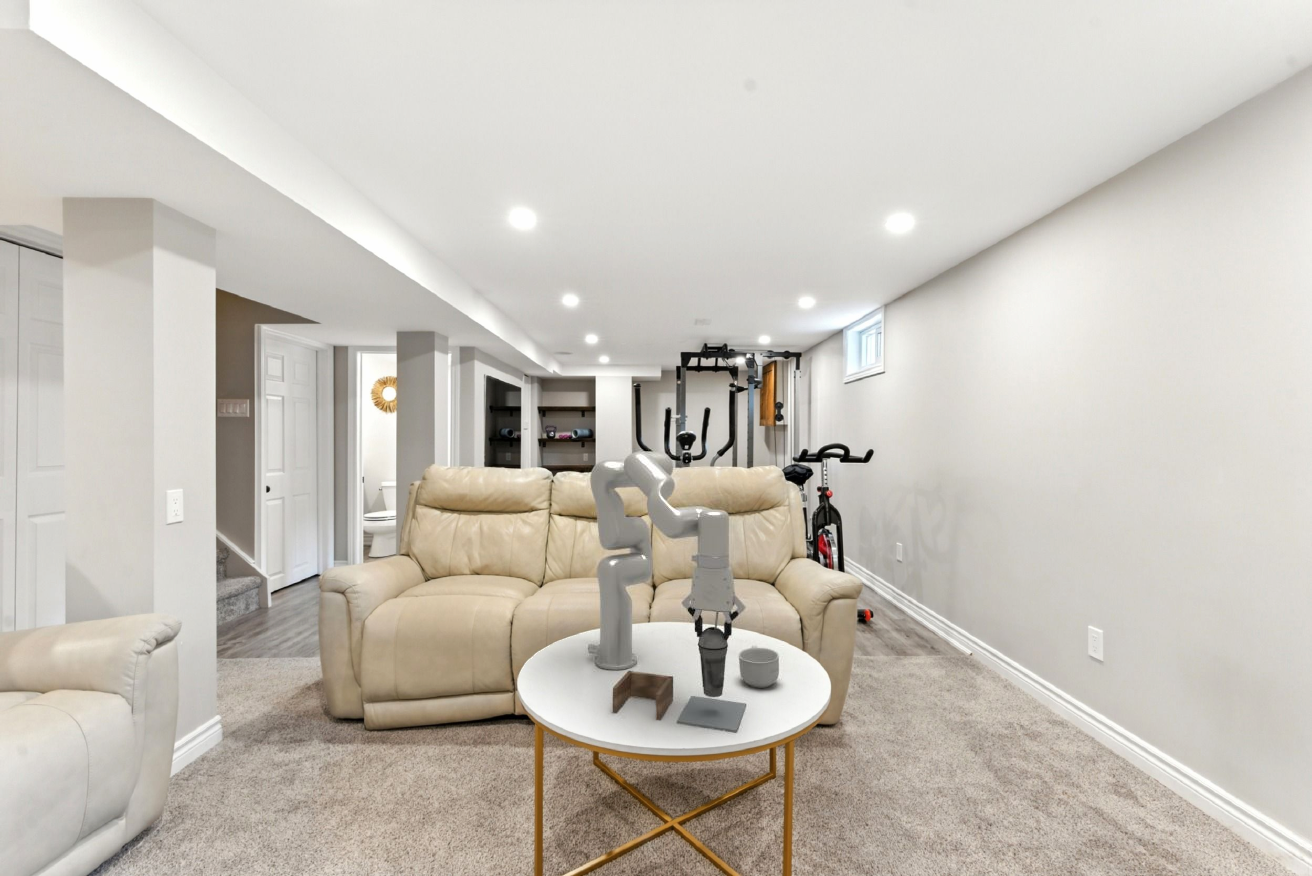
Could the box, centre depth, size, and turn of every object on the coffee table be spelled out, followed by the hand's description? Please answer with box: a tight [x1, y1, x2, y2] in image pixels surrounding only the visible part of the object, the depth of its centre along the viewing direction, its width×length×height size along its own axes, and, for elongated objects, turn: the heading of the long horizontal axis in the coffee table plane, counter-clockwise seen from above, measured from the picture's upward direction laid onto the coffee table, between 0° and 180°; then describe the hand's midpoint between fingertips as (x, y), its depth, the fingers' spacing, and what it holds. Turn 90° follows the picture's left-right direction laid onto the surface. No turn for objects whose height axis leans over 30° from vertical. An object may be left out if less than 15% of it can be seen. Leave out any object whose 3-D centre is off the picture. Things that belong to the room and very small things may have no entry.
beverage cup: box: [697, 612, 729, 698], centre depth 136 cm, size 7×7×20 cm
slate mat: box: [676, 695, 747, 733], centre depth 136 cm, size 14×14×1 cm
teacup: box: [738, 645, 780, 689], centre depth 156 cm, size 14×11×8 cm
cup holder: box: [612, 670, 674, 721], centre depth 140 cm, size 12×11×6 cm
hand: (713, 636), depth 137 cm, fingers closed on beverage cup, 6 cm apart
